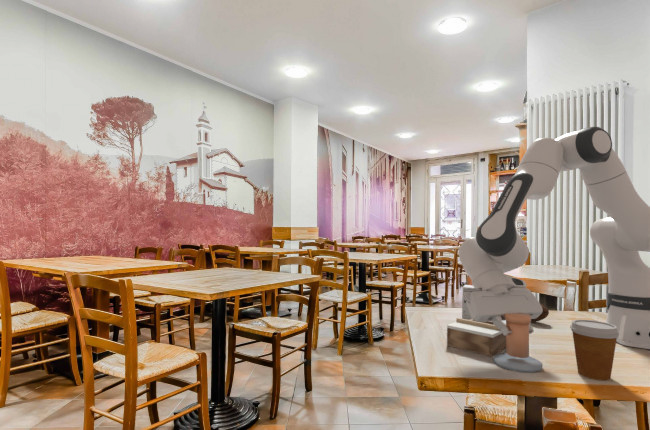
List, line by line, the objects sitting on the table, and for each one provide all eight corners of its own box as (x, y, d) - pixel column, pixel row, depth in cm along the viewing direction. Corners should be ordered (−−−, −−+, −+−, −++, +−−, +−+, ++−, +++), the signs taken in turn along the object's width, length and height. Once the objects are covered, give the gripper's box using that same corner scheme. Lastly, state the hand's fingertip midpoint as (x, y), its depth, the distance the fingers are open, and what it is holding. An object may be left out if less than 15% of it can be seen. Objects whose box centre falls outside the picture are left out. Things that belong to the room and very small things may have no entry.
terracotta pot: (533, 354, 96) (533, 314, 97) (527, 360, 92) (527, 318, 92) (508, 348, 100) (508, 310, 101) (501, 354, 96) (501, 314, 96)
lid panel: (502, 333, 106) (502, 326, 106) (492, 337, 101) (492, 330, 101) (457, 323, 115) (458, 317, 115) (447, 327, 111) (447, 321, 111)
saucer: (548, 364, 96) (548, 360, 96) (534, 376, 88) (534, 372, 88) (502, 353, 104) (502, 350, 104) (486, 363, 96) (486, 359, 96)
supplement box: (461, 321, 139) (461, 286, 139) (464, 317, 146) (464, 284, 146) (483, 324, 136) (483, 288, 136) (485, 319, 142) (485, 285, 142)
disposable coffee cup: (560, 367, 94) (560, 319, 94) (597, 367, 95) (597, 319, 95) (590, 384, 85) (590, 329, 85) (630, 383, 85) (630, 329, 86)
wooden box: (516, 342, 114) (516, 326, 114) (492, 356, 101) (492, 337, 101) (473, 333, 123) (473, 318, 123) (447, 345, 110) (447, 327, 111)
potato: (526, 318, 146) (526, 297, 146) (553, 324, 137) (553, 302, 138) (515, 320, 142) (515, 299, 142) (541, 326, 134) (541, 304, 134)
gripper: (465, 282, 101) (490, 329, 91) (529, 280, 106) (559, 324, 96) (455, 295, 105) (478, 342, 95) (517, 293, 110) (544, 337, 100)
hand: (519, 333), depth 96 cm, fingers closed on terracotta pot, 5 cm apart
